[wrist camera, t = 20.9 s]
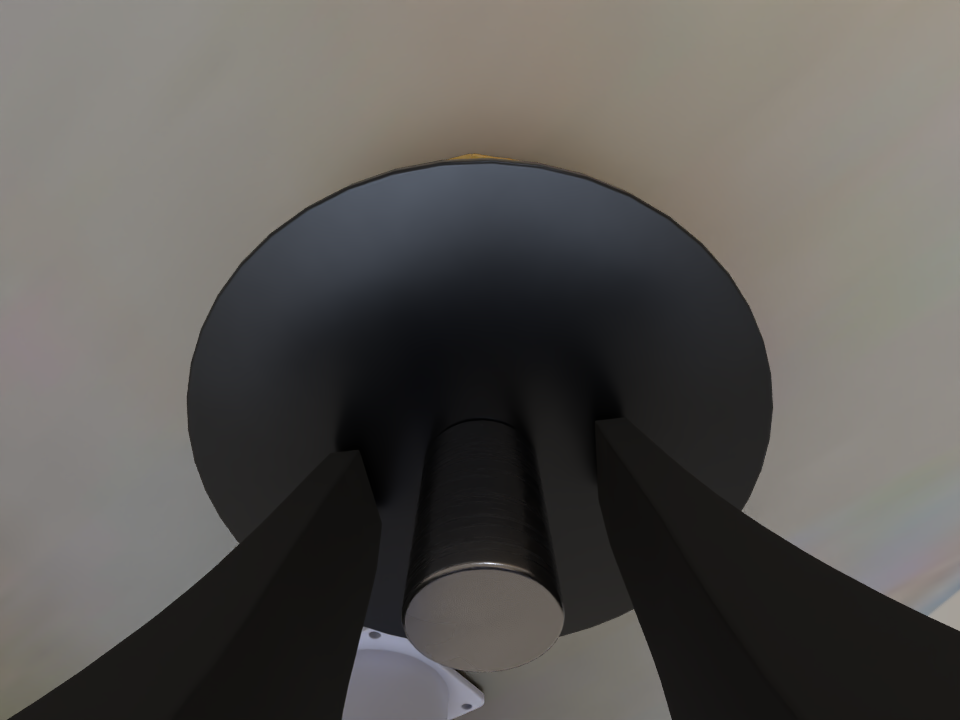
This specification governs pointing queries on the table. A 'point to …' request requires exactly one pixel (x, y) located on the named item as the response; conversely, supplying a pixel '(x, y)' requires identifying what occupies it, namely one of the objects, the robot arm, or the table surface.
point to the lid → (477, 387)
